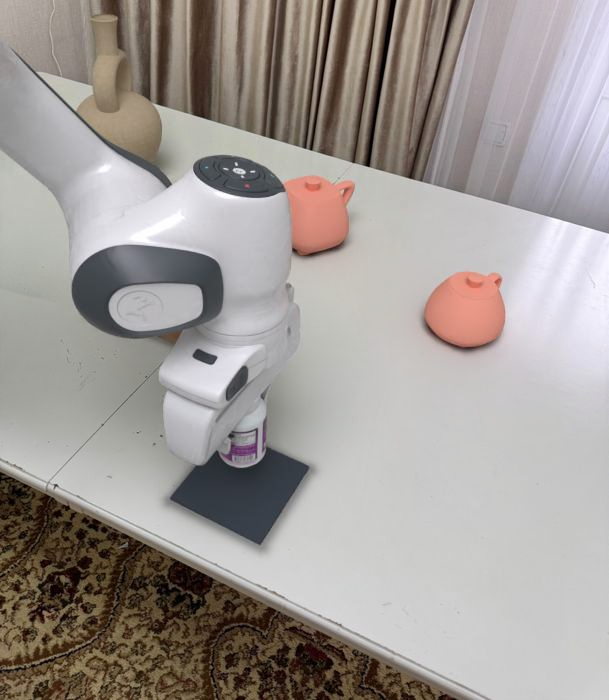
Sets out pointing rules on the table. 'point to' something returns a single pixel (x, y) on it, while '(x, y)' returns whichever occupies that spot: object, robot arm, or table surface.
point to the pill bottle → (249, 437)
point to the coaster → (242, 492)
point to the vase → (119, 98)
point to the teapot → (318, 212)
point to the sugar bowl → (467, 309)
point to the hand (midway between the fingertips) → (241, 426)
